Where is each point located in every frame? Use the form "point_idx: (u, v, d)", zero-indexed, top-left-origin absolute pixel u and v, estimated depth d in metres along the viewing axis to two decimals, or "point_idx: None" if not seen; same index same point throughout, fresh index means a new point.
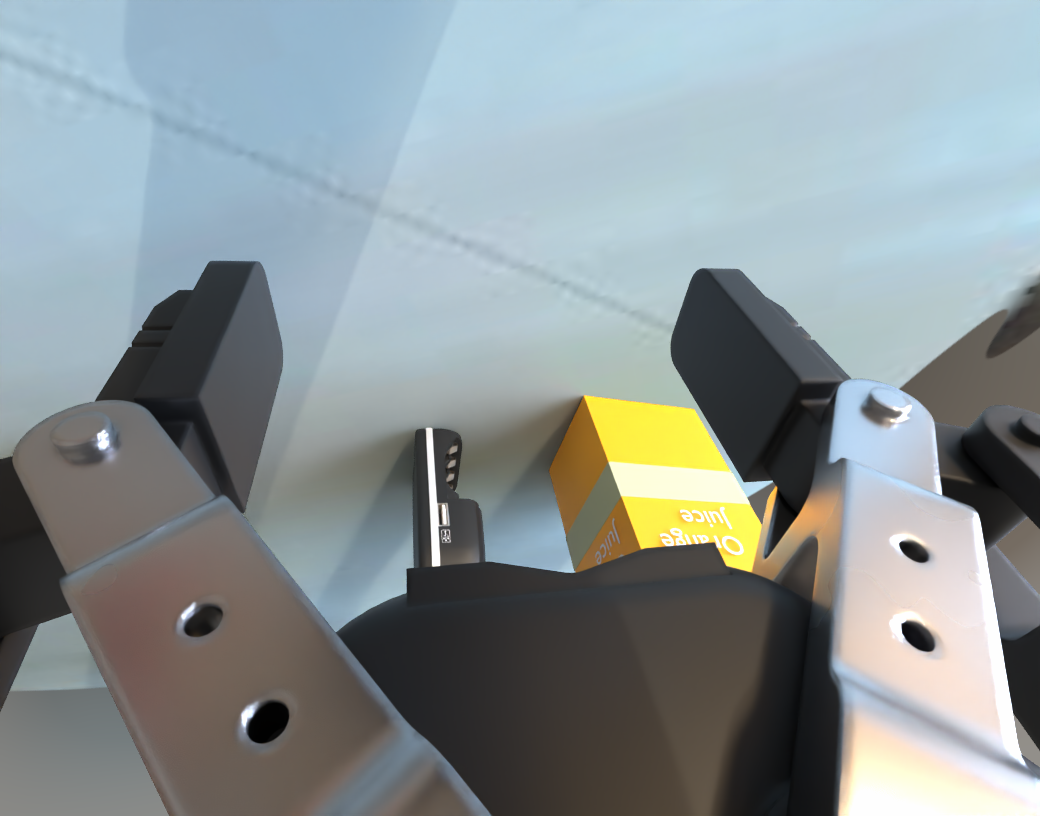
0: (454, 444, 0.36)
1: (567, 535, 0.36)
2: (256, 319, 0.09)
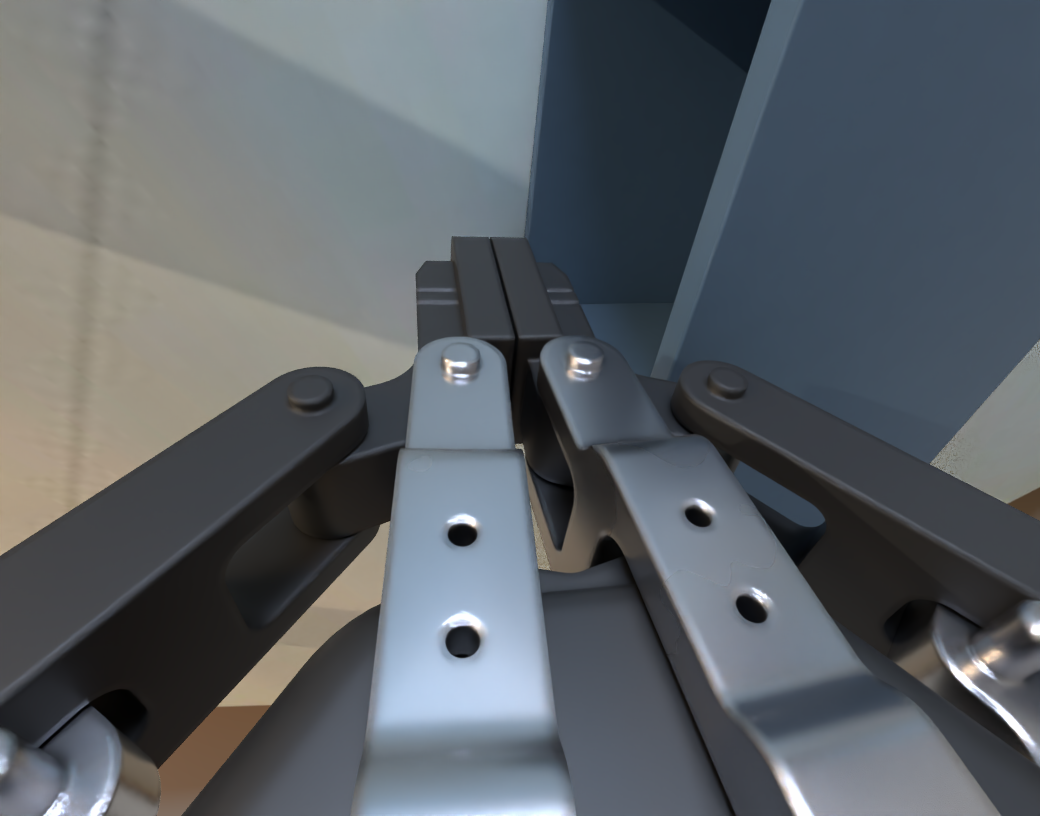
0: None
1: None
2: None
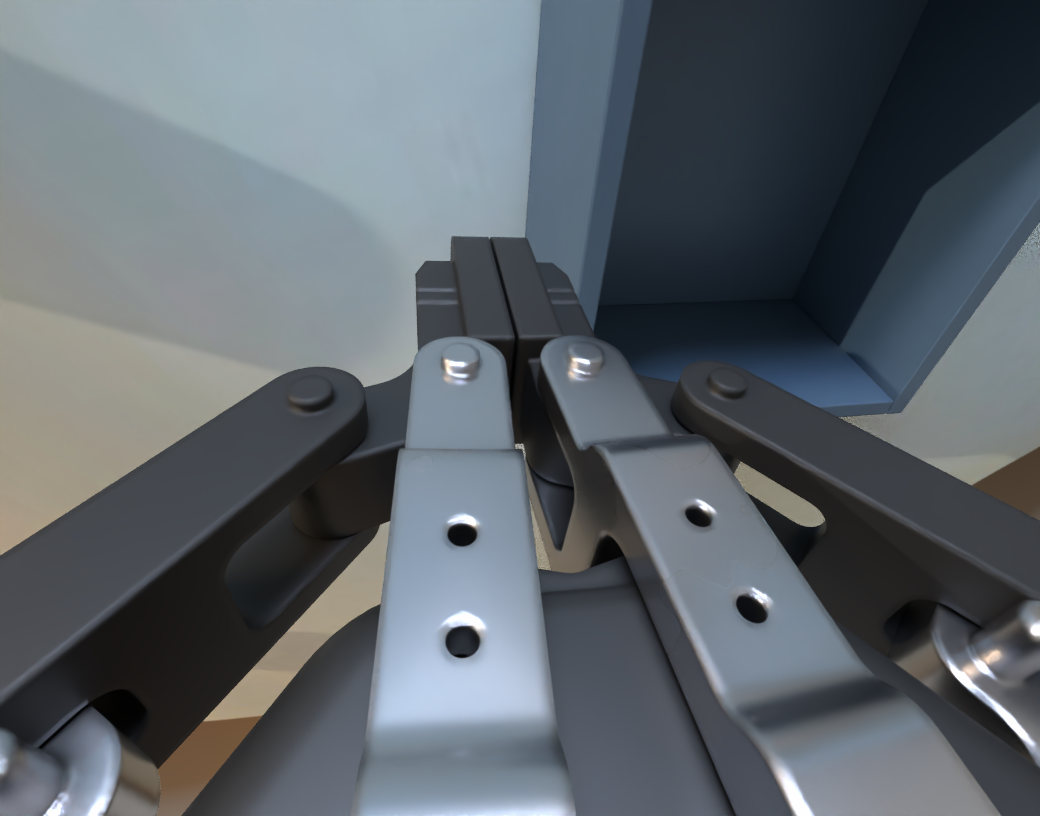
0: None
1: None
2: None
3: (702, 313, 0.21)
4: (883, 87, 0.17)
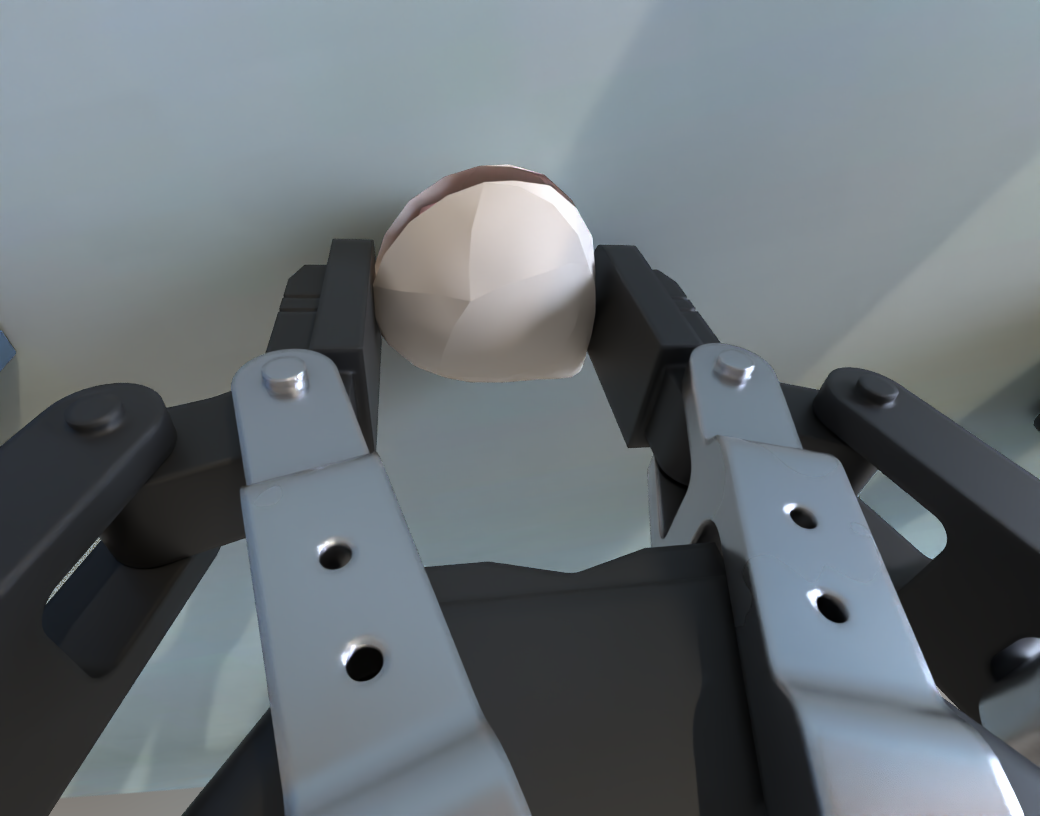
0: None
1: None
2: None
3: None
4: None
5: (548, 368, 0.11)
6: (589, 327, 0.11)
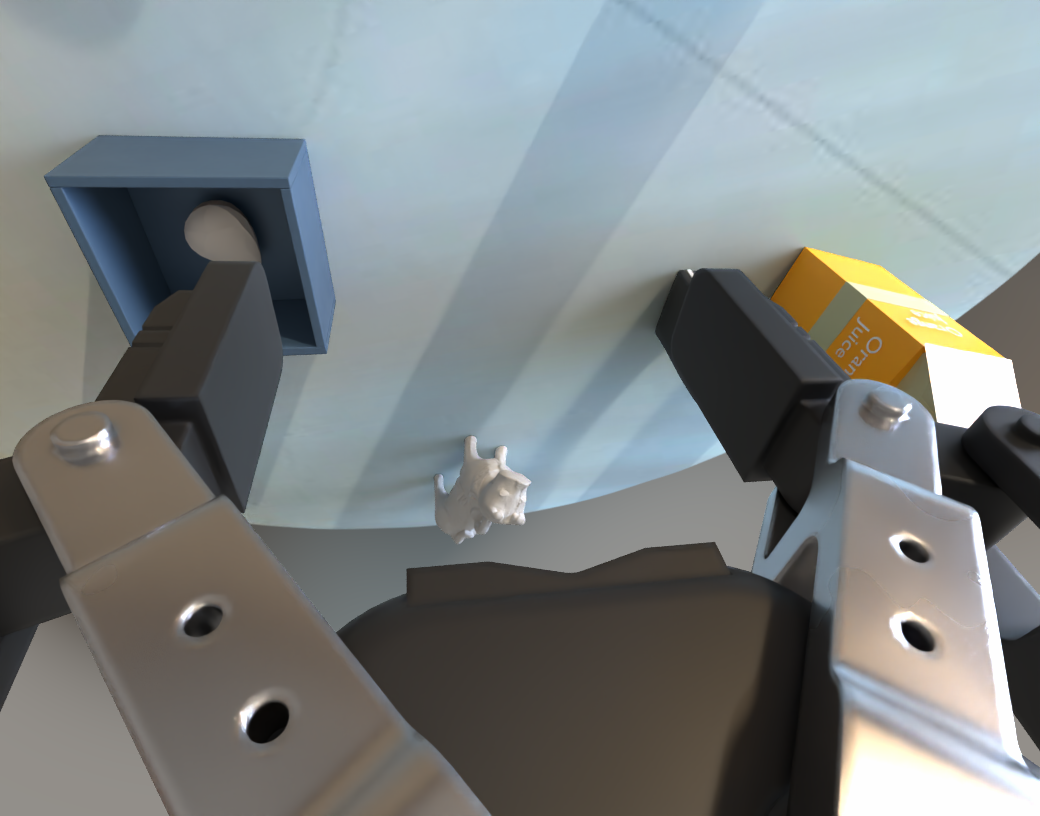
0: None
1: None
2: (256, 319, 0.09)
3: (147, 252, 0.37)
4: (283, 297, 0.41)
5: (244, 259, 0.37)
6: (255, 247, 0.37)
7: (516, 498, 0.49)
